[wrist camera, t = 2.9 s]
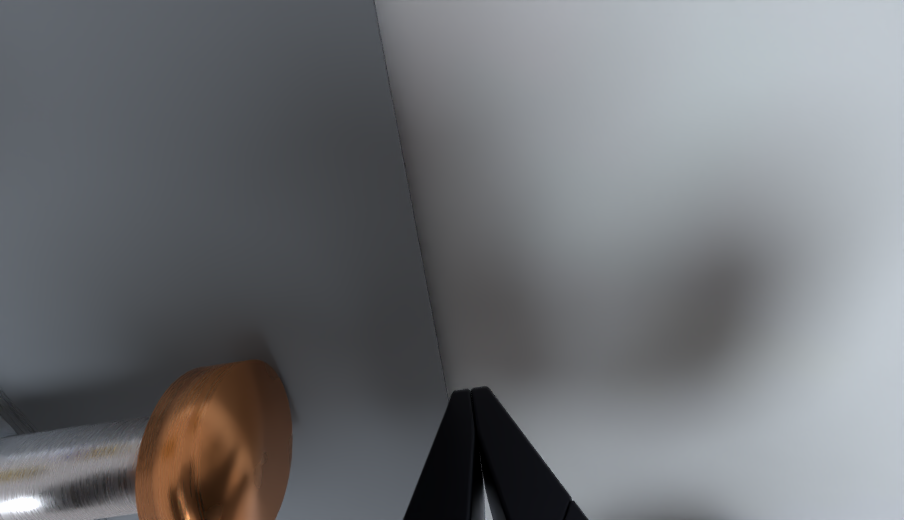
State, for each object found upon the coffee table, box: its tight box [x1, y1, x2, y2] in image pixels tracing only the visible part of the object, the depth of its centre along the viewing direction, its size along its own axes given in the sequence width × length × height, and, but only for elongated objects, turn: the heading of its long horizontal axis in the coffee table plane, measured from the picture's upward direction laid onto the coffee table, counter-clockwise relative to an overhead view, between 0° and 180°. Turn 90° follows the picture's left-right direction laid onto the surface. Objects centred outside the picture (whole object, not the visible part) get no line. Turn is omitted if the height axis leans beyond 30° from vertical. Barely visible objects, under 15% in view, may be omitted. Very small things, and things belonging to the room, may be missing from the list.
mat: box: [0, 0, 449, 520], centre depth 10 cm, size 20×24×1 cm
